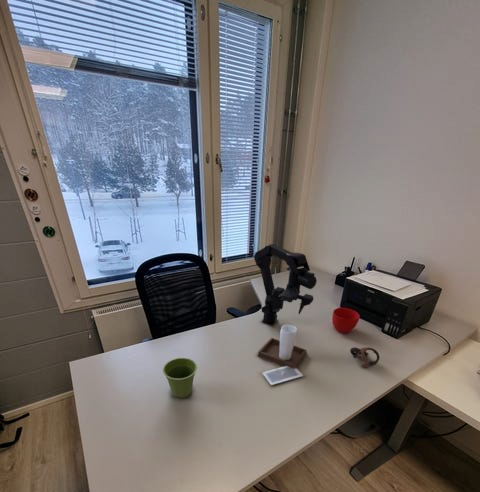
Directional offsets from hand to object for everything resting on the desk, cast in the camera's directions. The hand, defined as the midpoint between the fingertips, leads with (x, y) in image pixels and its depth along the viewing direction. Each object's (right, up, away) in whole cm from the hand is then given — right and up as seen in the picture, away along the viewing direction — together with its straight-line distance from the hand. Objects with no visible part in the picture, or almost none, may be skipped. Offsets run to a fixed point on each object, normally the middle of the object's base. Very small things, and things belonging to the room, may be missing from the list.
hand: (290, 311), depth 131 cm
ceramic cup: (+30, -9, +13) cm, 34 cm away
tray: (-6, -20, -9) cm, 23 cm away
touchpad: (-7, -27, -21) cm, 35 cm away
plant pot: (-46, -31, -31) cm, 64 cm away
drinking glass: (-5, -21, -11) cm, 24 cm away
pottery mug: (+30, -23, -11) cm, 39 cm away
